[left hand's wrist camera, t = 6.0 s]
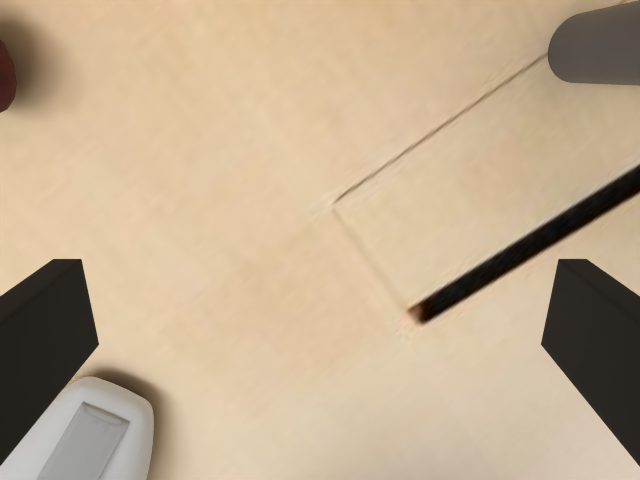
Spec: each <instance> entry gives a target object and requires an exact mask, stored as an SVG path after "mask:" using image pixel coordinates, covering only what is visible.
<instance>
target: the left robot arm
mask: <svg viewBox="0 0 640 480" xmlns="http://www.w3.org/2000/svg"><path fill="white" fill-rule="evenodd" d="M98 345H99V342H98V337H97V332H96V328H95V323H94V318H93V313H92V308H91V303H90V299H89V294H88V289H87V284H86V279H85V274H84V270H83V265H82V260H81V259H53V260H51V261H50V262H49V263H47V264H46V265H44V266H43V267H42V268H40V269H39V270H37V271H36V272H34V273H33V274H32V275H30V276H29V277H27V278H26V279H24V280H23V281H22V282H20V283H19V284H17V285H16V286H14V287H13V288H12V289H10V290H9V291H7V292H6V293H5V294H3V295H2V296H0V466H1V465H2V464H3V462H4V461H5V460H6V459H7V457H8V456H9V455H10V454H11V453H12V451H13V450H14V449H15V448H16V446H17V445H18V444H19V443H20V441H21V440H22V439H23V438H24V436H25V435H26V434H27V433H28V432H29V430H30V429H31V428H32V427H33V425H34V424H35V423H36V422H37V420H38V419H39V418H40V417H41V415H42V414H43V413H44V412H45V411H46V409H47V408H48V407H49V406H50V404H51V403H52V402H53V401H54V399H55V398H56V397H57V396H58V394H59V393H60V392H61V391H62V390H63V388H64V387H65V386H66V385H67V383H68V382H69V381H70V380H71V378H72V377H73V376H74V375H75V374H76V372H77V371H78V370H79V369H80V367H81V366H82V365H83V364H84V362H85V361H86V360H87V359H88V357H89V356H90V355H91V354H92V353H93V351H94V350H95V349H96V348H97V346H98ZM541 345H542V346H543V348H544V349H545V350H546V351H547V353H548V354H549V355H550V356H551V357H552V359H553V360H554V361H555V362H556V364H557V365H558V366H559V367H560V369H561V370H562V371H563V372H564V374H565V375H566V376H567V377H568V378H569V380H570V381H571V382H572V383H573V385H574V386H575V387H576V388H577V390H578V391H579V392H580V393H581V394H582V396H583V397H584V398H585V399H586V401H587V402H588V403H589V404H590V406H591V407H592V408H593V409H594V411H595V412H596V413H597V414H598V415H599V417H600V418H601V419H602V420H603V422H604V423H605V424H606V425H607V427H608V428H609V429H610V430H611V432H612V433H613V434H614V435H615V436H616V438H617V439H618V440H619V441H620V443H621V444H622V445H623V446H624V448H625V449H626V450H627V451H628V453H629V454H630V455H631V456H632V457H633V459H634V460H635V461H636V462H637V464H638V465H639V466H640V296H638V295H637V294H635V293H634V292H633V291H631V290H630V289H628V288H627V287H626V286H624V285H623V284H621V283H620V282H618V281H617V280H616V279H614V278H613V277H611V276H610V275H608V274H607V273H606V272H604V271H603V270H601V269H600V268H598V267H597V266H596V265H594V264H593V263H591V262H590V261H589V260H587V259H559V260H558V265H557V270H556V274H555V279H554V284H553V289H552V294H551V299H550V303H549V308H548V313H547V318H546V323H545V328H544V332H543V337H542V342H541Z"/></svg>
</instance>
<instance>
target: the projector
mask: <svg viewBox="0 0 640 480" xmlns="http://www.w3.org/2000/svg"><path fill="white" fill-rule="evenodd" d="M153 435H154V416H153V409H152V406H151V404H150V403H149V402H148V401H147V400H146V399H144V398H143V397H141V396H139V395H137V394H135V393H133V392H131V391H129V390H127V389H125V388H123V387H120V386H118V385H116V384H113V383H111V382H108V381H105V380H102V379H100V378H97V377H91V376H88V377H83V378H81V379H78V380H77V381H75V382H73V383H71V384H70V385H68V386H67V387H65V388H64V389H63V390H62V391H61V392H60V393H59V394H58V396H57V397H56V398H55V399H54V401H53V402H52V403H51V404H50V406H49V407H48V408H47V409H46V411H45V412H44V413H43V414H42V415H41V417H40V418H39V419H38V420H37V422H36V423H35V424H34V425H33V427H32V428H31V429H30V430H29V432H28V433H27V434H26V435H25V436H24V438H23V439H22V440H21V441H20V443H19V444H18V445H17V446H16V448H15V449H14V450H13V451H12V453H11V454H10V455H9V456H8V457H7V459H6V460H5V461H4V462H3V464H2V465H1V466H0V480H147V475H148V471H149V466H150V461H151V454H152V446H153Z"/></svg>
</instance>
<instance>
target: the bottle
mask: <svg viewBox="0 0 640 480" xmlns="http://www.w3.org/2000/svg"><path fill="white" fill-rule="evenodd" d="M548 60H549V64H550V67H551V69H552V71H553V72H554V74H555V75H556V76H557V77H559V78H560V79H562V80H564V81H567V82H572V83H594V84H617V85H640V0H639V1H635V2H630V3H626V4H621V5H617V6H612V7H608V8H603V9H599V10H594V11H590V12H585V13H581V14H577V15H575V16H573V17H571V18H569V19H567V20H566V21H565V22H564V23H562V24H561V25H560V26H559V28H558V29H557V30H556V32H555V33H554V35H553V37H552V39H551V42H550V45H549V50H548Z"/></svg>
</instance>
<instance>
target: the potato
mask: <svg viewBox="0 0 640 480" xmlns="http://www.w3.org/2000/svg"><path fill="white" fill-rule="evenodd" d="M16 84H17V83H16V77H15V72H14V66H13V62H12V60H11V58H10V56H9V54H8V52H7V50H6V48H5V45H4V43H3V42H2V41H1V40H0V112H2V111H5V110H7V109H8V107H9V106H10V104H11V102H12V101H13V99H14V96H15V90H16Z"/></svg>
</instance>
